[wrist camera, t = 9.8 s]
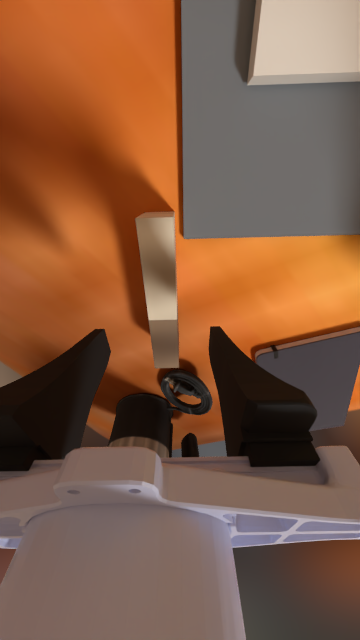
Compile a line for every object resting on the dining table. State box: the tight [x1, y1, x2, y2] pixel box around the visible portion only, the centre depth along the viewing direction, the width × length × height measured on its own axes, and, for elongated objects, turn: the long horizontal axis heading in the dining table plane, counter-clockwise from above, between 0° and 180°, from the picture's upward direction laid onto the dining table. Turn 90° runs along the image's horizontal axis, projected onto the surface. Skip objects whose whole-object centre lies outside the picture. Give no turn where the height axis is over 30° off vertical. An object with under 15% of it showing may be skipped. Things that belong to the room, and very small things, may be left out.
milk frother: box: [108, 370, 212, 458], centre depth 24 cm, size 14×16×15 cm
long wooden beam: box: [135, 211, 179, 368], centre depth 19 cm, size 14×2×4 cm, turn 1°
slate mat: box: [181, 0, 360, 239], centre depth 13 cm, size 16×18×1 cm
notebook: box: [255, 327, 360, 431], centre depth 30 cm, size 13×2×21 cm
